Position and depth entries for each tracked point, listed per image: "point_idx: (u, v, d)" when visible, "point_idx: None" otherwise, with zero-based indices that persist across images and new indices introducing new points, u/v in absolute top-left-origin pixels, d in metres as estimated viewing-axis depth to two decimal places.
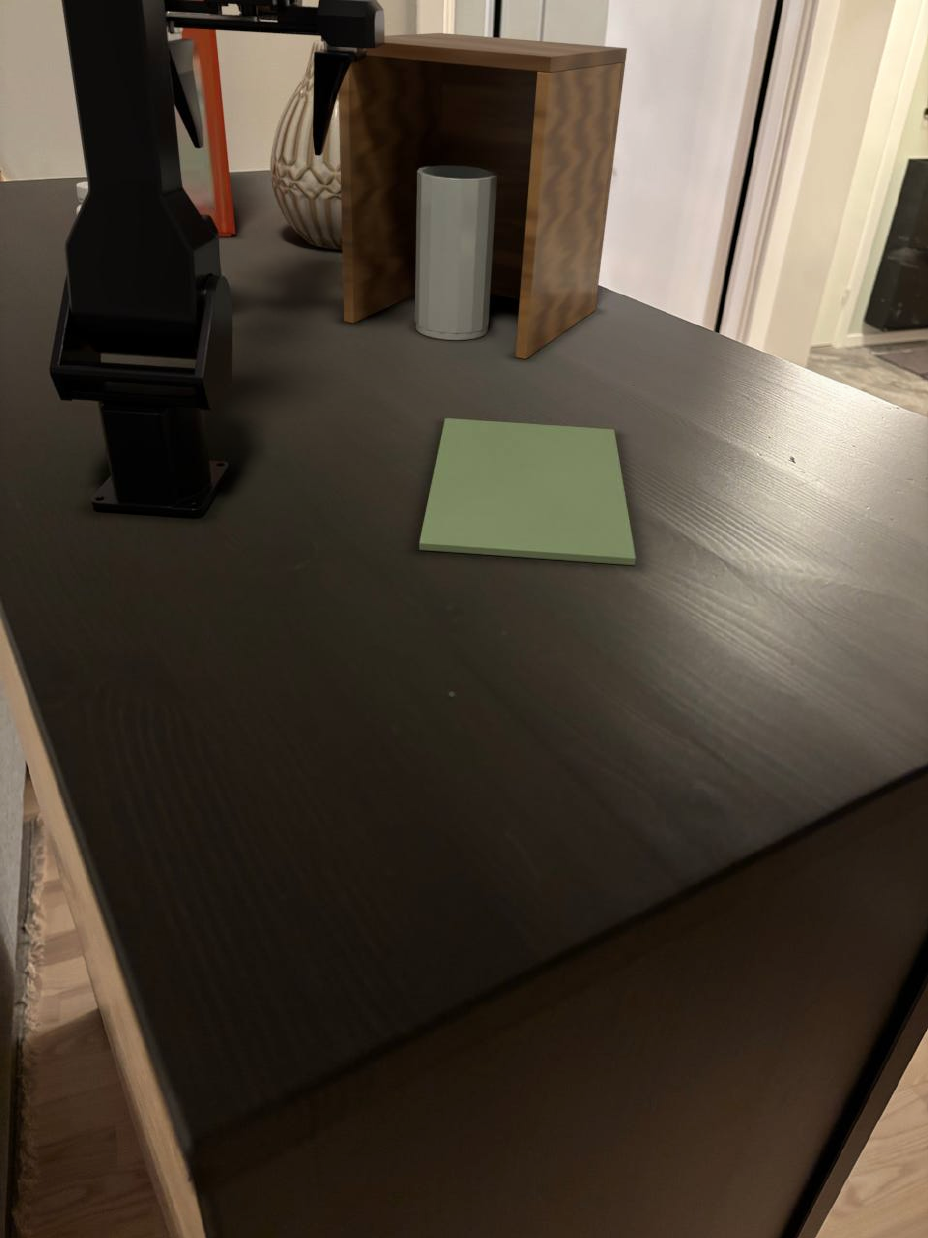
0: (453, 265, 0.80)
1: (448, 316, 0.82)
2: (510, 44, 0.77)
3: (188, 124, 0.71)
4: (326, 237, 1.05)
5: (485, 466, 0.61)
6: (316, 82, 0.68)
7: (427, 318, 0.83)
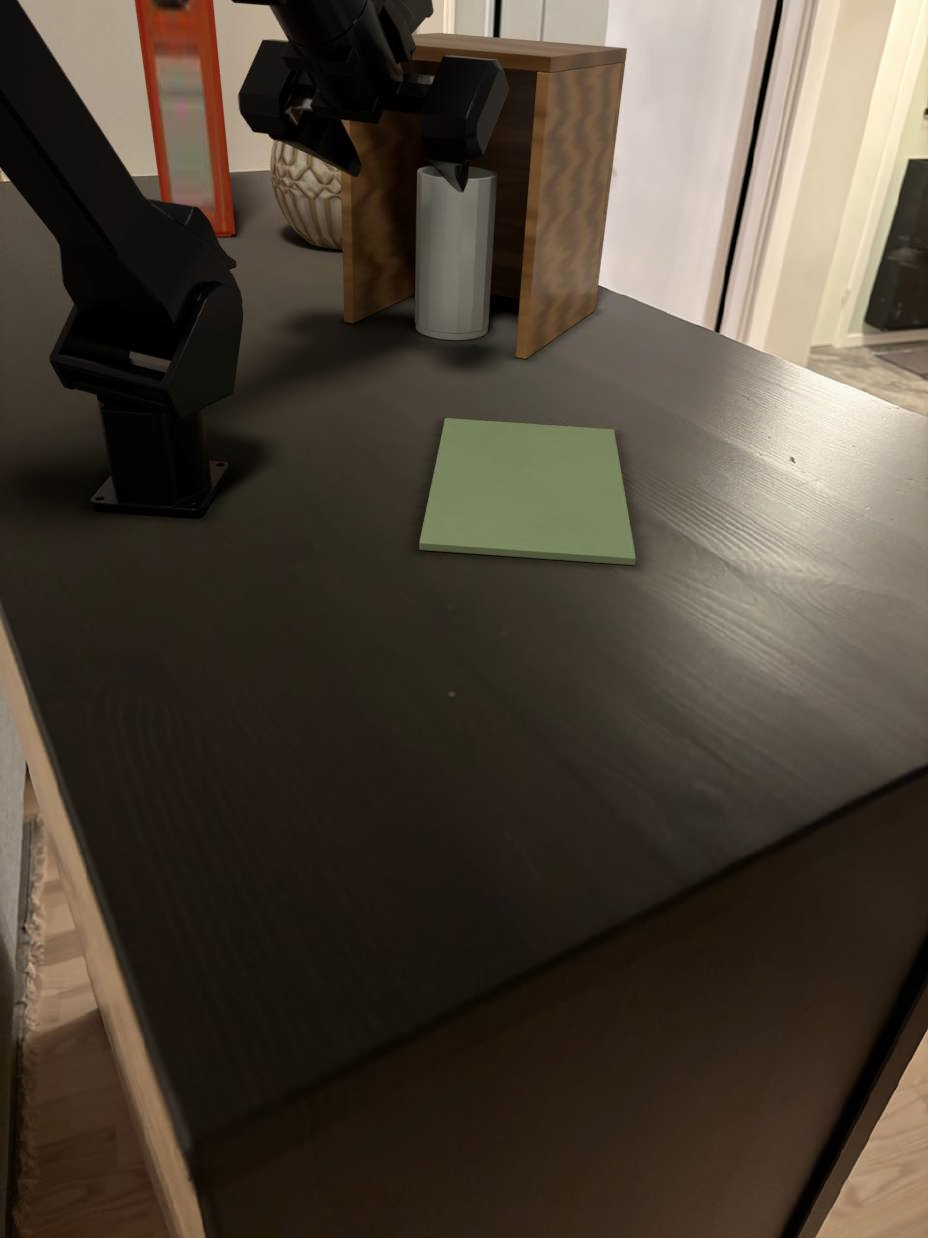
0: (453, 265, 0.80)
1: (448, 316, 0.82)
2: (510, 44, 0.77)
3: (341, 169, 0.72)
4: (326, 237, 1.05)
5: (485, 466, 0.61)
6: (437, 168, 0.66)
7: (427, 318, 0.83)
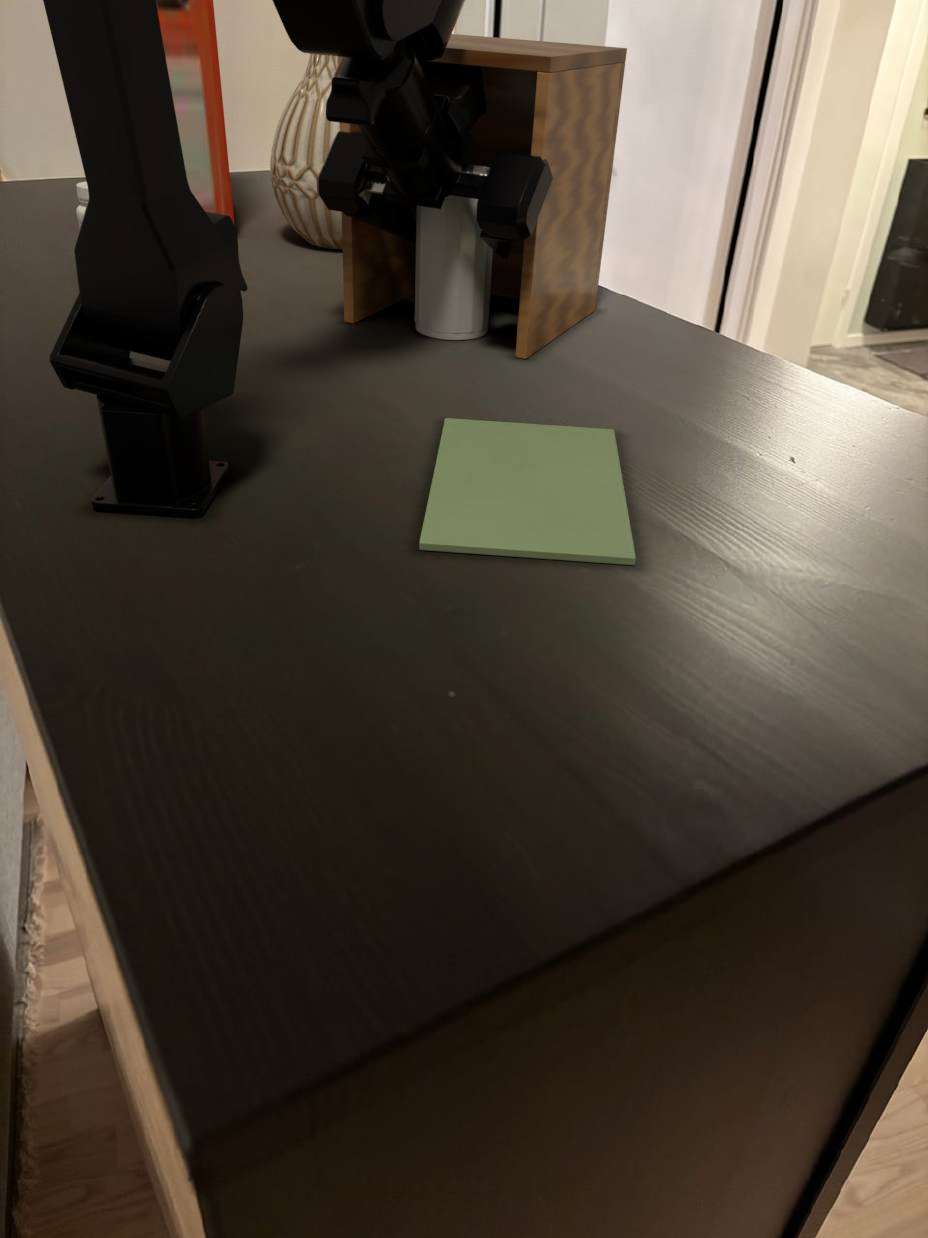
0: (453, 265, 0.80)
1: (448, 316, 0.82)
2: (510, 44, 0.77)
3: (403, 237, 0.83)
4: (326, 237, 1.05)
5: (485, 466, 0.61)
6: (488, 243, 0.76)
7: (427, 318, 0.83)
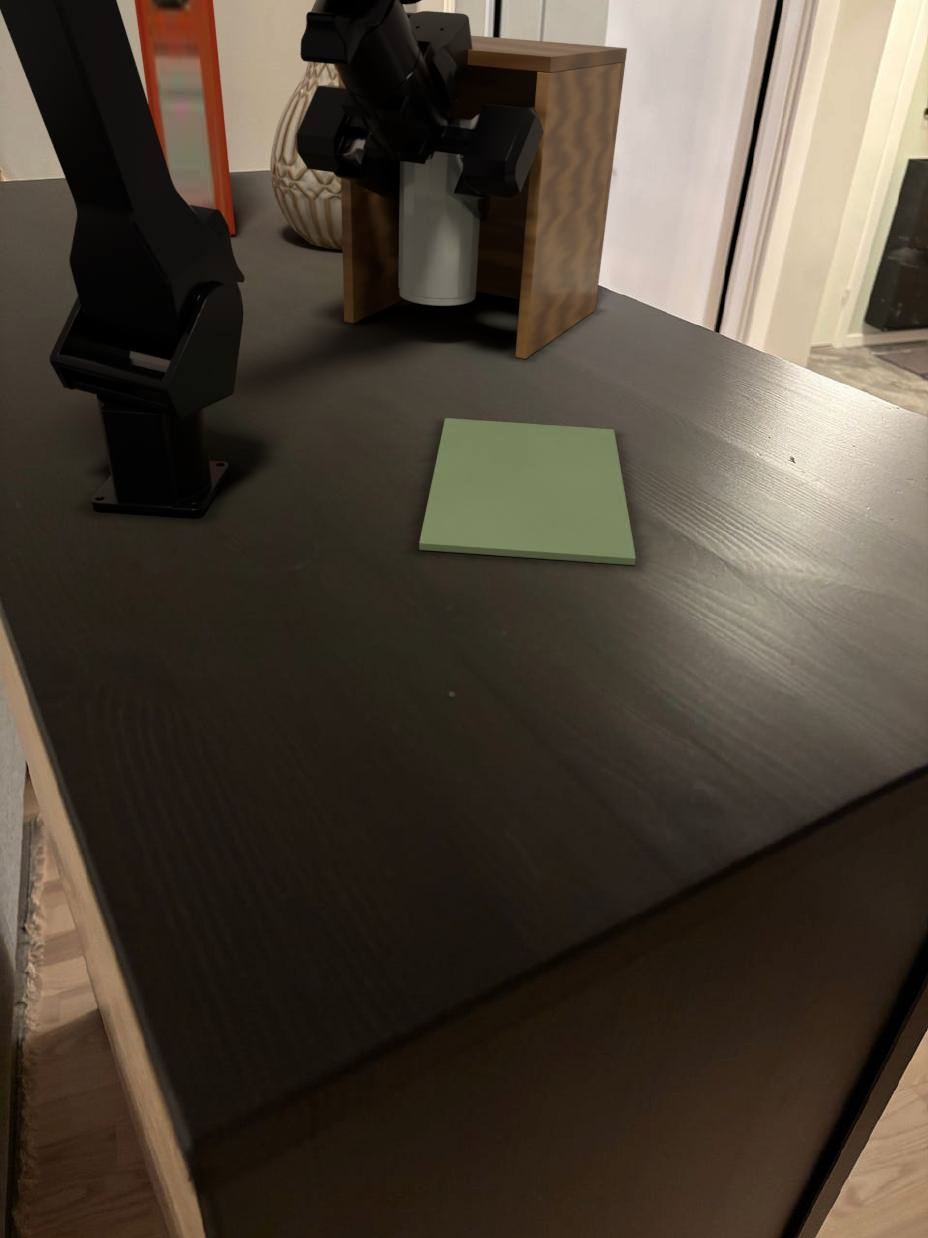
0: (438, 225, 0.76)
1: (433, 280, 0.78)
2: (510, 44, 0.77)
3: (397, 202, 0.79)
4: (326, 237, 1.05)
5: (485, 466, 0.61)
6: (463, 201, 0.73)
7: (411, 282, 0.79)
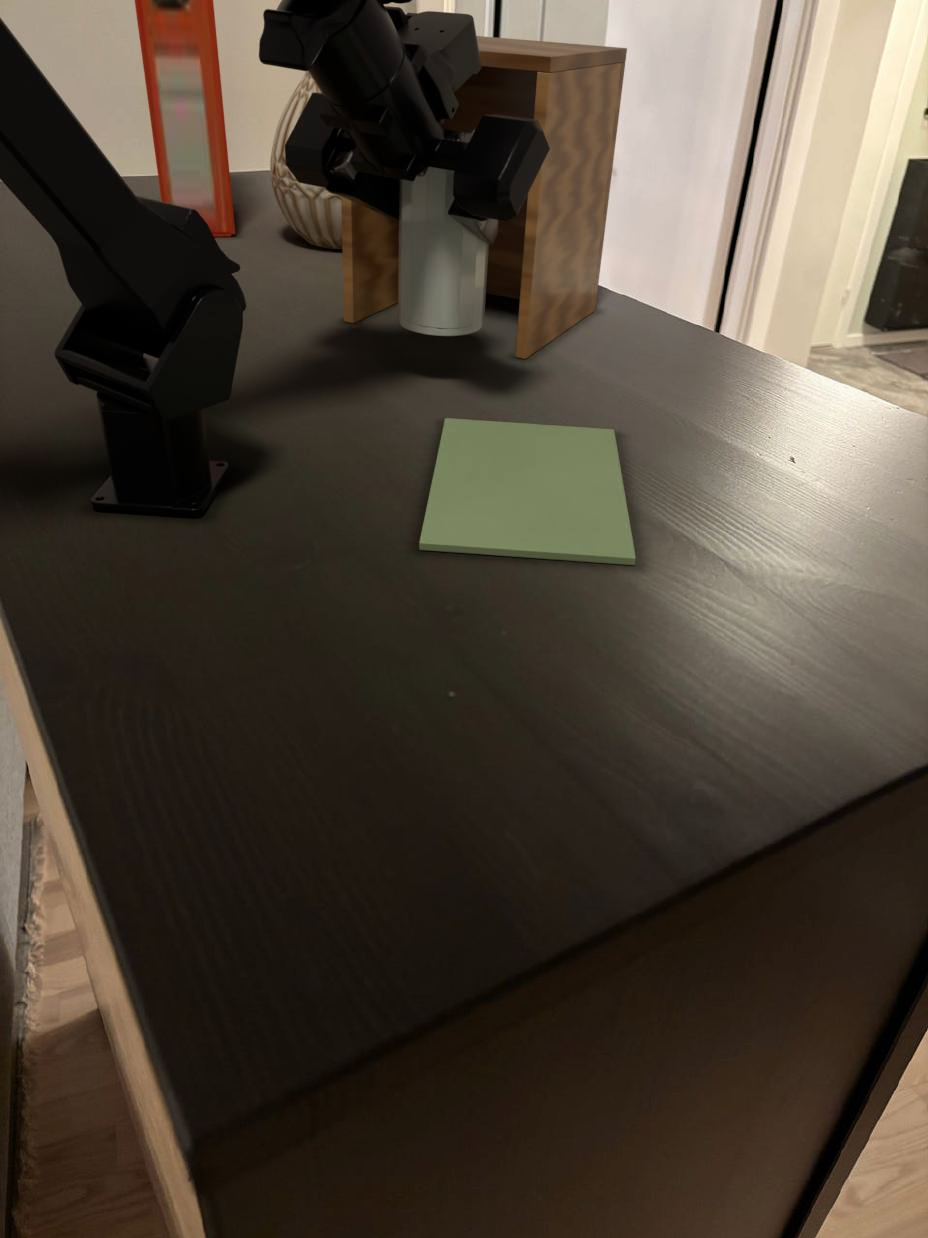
0: (436, 247, 0.68)
1: (431, 307, 0.71)
2: (510, 44, 0.77)
3: None
4: (326, 237, 1.05)
5: (485, 466, 0.61)
6: (460, 223, 0.65)
7: (408, 309, 0.72)
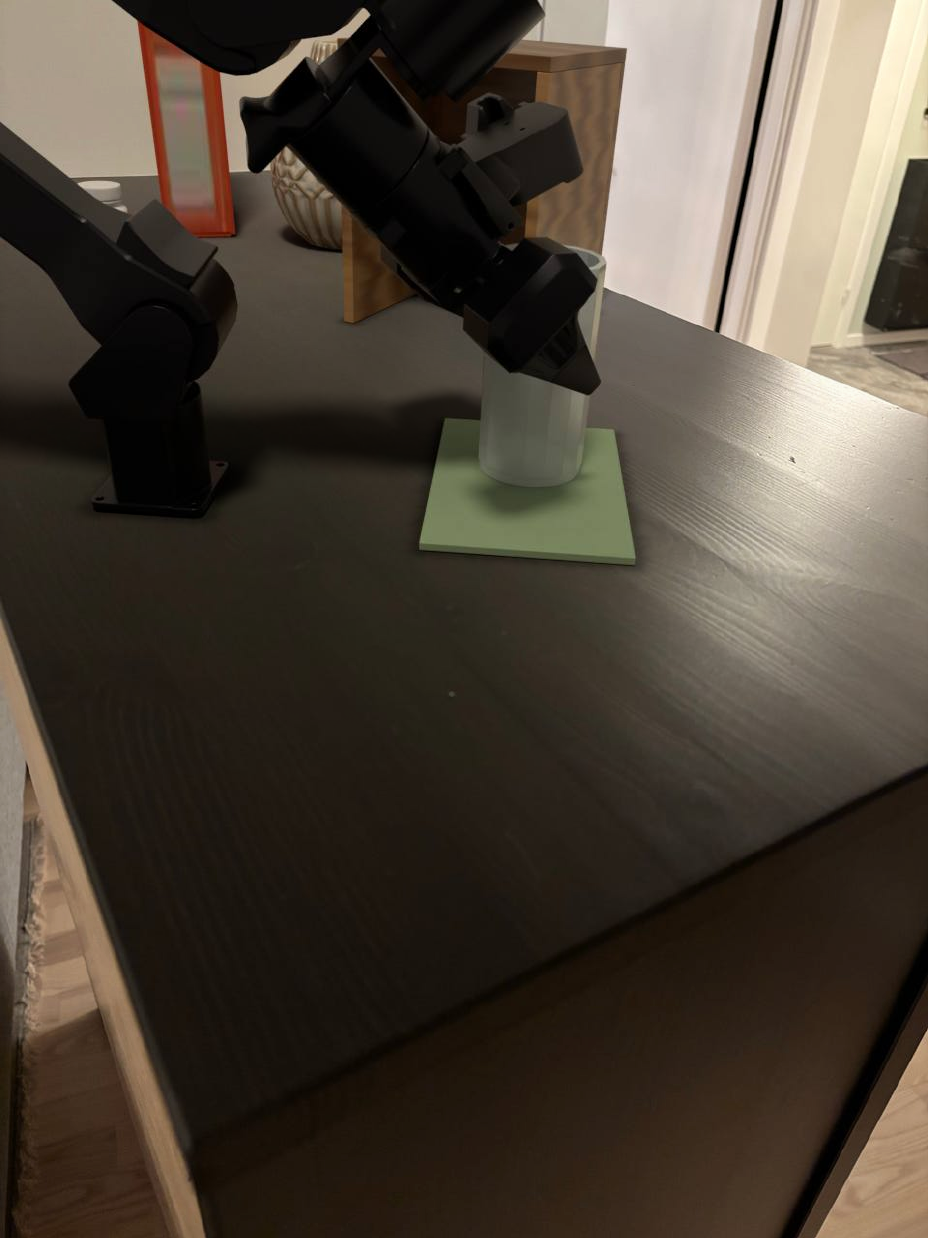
0: (501, 382, 0.56)
1: (494, 448, 0.59)
2: None
3: None
4: (326, 237, 1.05)
5: None
6: None
7: (479, 443, 0.60)
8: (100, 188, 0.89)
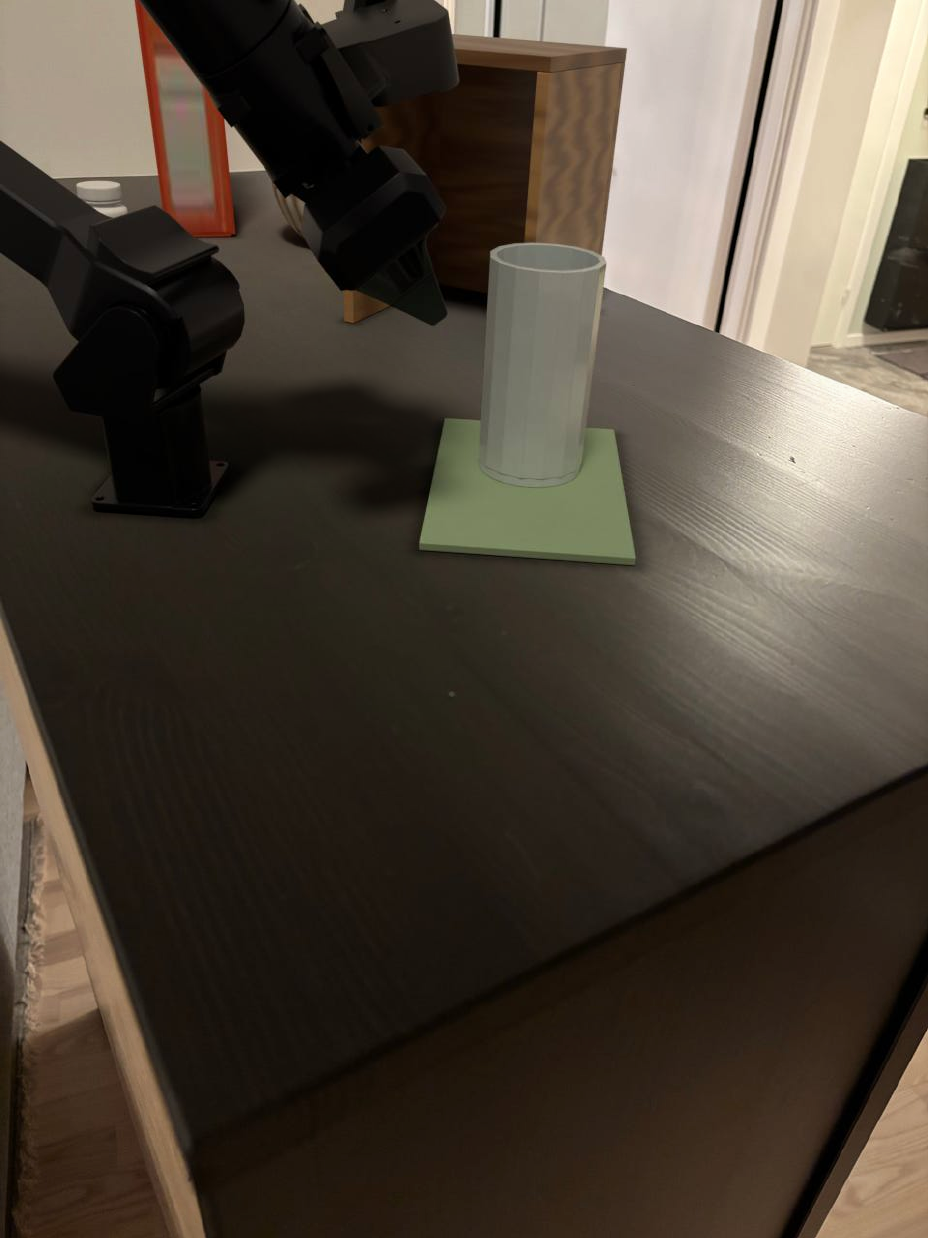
0: (501, 382, 0.56)
1: (494, 448, 0.59)
2: (510, 44, 0.77)
3: None
4: None
5: None
6: None
7: (479, 443, 0.60)
8: (100, 188, 0.89)
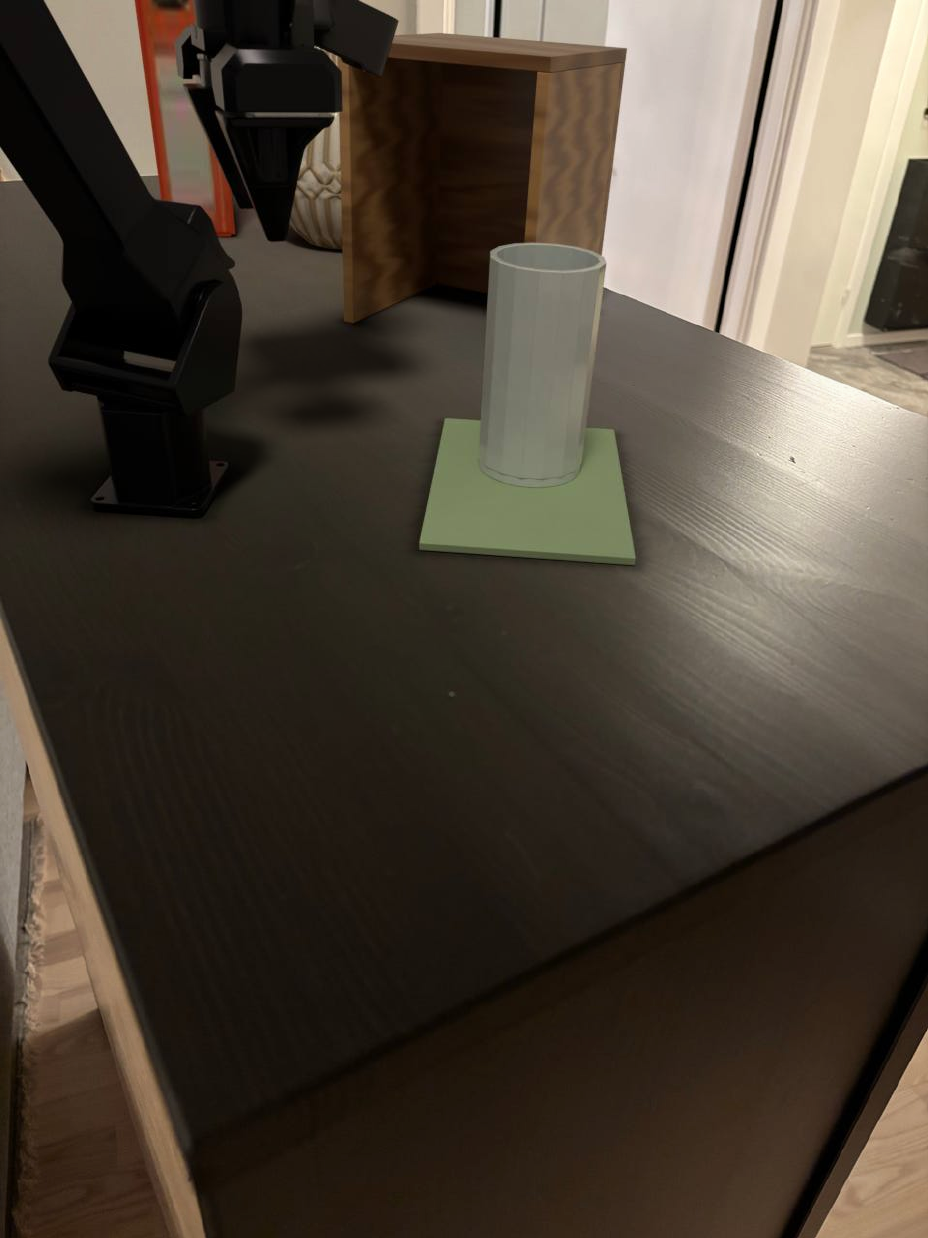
0: (501, 382, 0.56)
1: (494, 448, 0.59)
2: (510, 44, 0.77)
3: (226, 180, 0.62)
4: (326, 237, 1.05)
5: None
6: (230, 149, 0.53)
7: (479, 443, 0.60)
8: None
